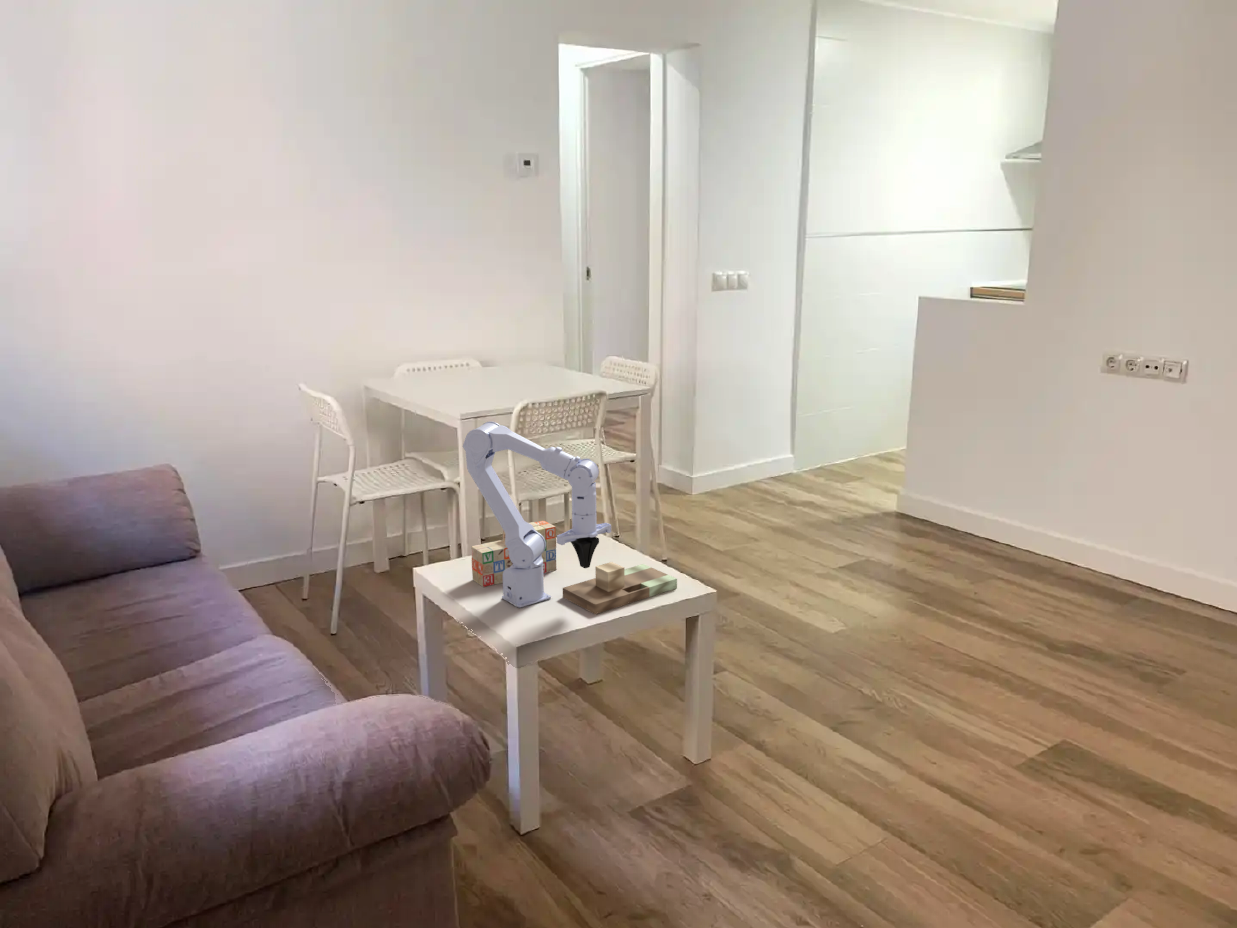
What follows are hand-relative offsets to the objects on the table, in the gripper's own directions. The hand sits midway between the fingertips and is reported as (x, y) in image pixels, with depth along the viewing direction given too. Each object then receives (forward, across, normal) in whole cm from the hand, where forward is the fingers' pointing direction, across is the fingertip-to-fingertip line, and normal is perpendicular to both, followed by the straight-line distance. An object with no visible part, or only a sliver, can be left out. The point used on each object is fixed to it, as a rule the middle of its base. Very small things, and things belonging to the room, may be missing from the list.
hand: (584, 566), depth 227 cm
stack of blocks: (+10, -3, +26) cm, 28 cm away
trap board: (+9, +11, 0) cm, 14 cm away
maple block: (+7, +8, 0) cm, 10 cm away
